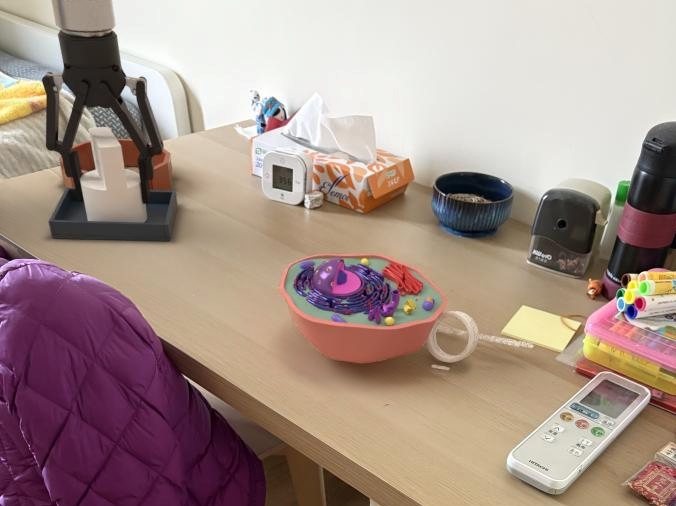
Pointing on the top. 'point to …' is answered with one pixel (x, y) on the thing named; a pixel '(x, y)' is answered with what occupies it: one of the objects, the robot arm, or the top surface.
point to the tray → (75, 225)
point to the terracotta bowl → (125, 163)
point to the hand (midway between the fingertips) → (114, 199)
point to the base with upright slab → (111, 183)
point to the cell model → (361, 305)
